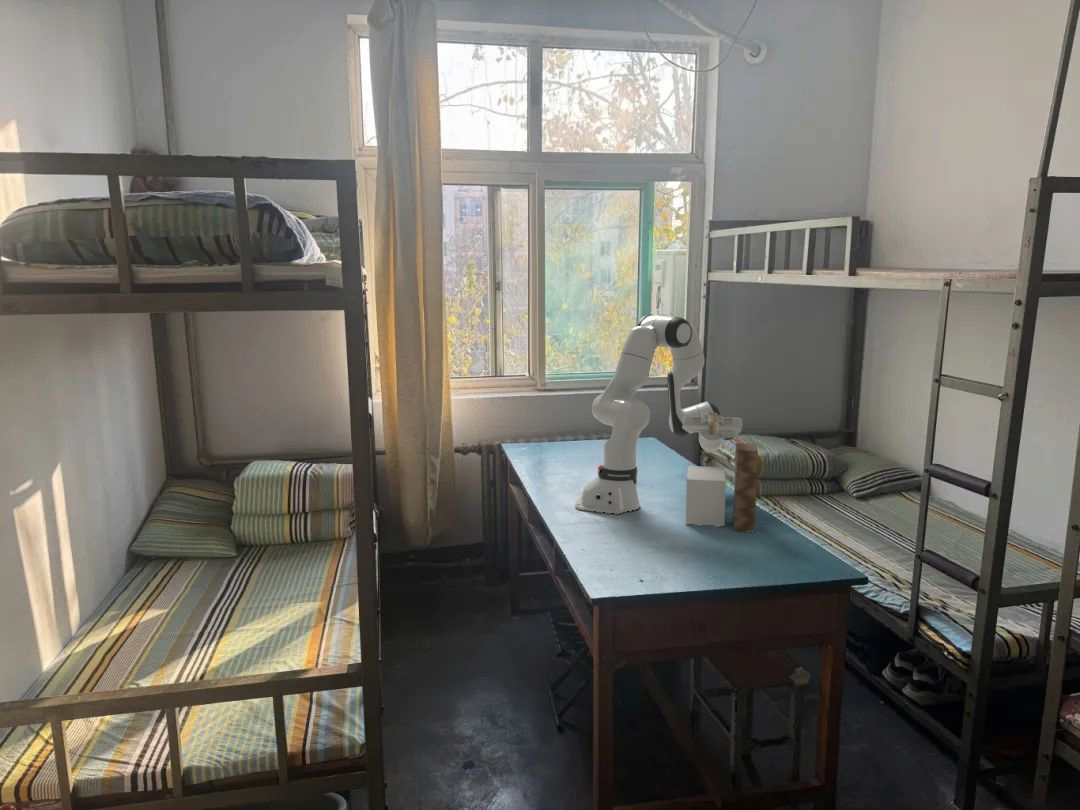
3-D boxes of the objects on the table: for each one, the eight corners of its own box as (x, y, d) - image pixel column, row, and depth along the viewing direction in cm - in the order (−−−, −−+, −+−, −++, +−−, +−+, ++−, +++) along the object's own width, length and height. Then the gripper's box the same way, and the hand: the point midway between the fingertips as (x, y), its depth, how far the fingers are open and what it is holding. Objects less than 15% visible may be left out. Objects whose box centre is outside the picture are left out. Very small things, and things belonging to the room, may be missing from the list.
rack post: (734, 531, 227) (737, 449, 223) (733, 521, 236) (735, 443, 232) (754, 532, 226) (757, 450, 221) (752, 522, 235) (755, 443, 231)
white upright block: (685, 524, 234) (686, 479, 231) (686, 508, 251) (687, 465, 249) (724, 526, 231) (725, 481, 229) (722, 510, 249) (723, 467, 246)
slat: (709, 433, 230) (709, 425, 229) (708, 419, 253) (708, 412, 252) (718, 433, 229) (718, 425, 229) (716, 419, 252) (717, 412, 252)
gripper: (682, 420, 264) (682, 407, 252) (740, 422, 260) (743, 408, 248) (681, 437, 262) (681, 424, 250) (740, 439, 258) (743, 426, 245)
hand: (712, 416), depth 249 cm, fingers closed on slat, 3 cm apart
